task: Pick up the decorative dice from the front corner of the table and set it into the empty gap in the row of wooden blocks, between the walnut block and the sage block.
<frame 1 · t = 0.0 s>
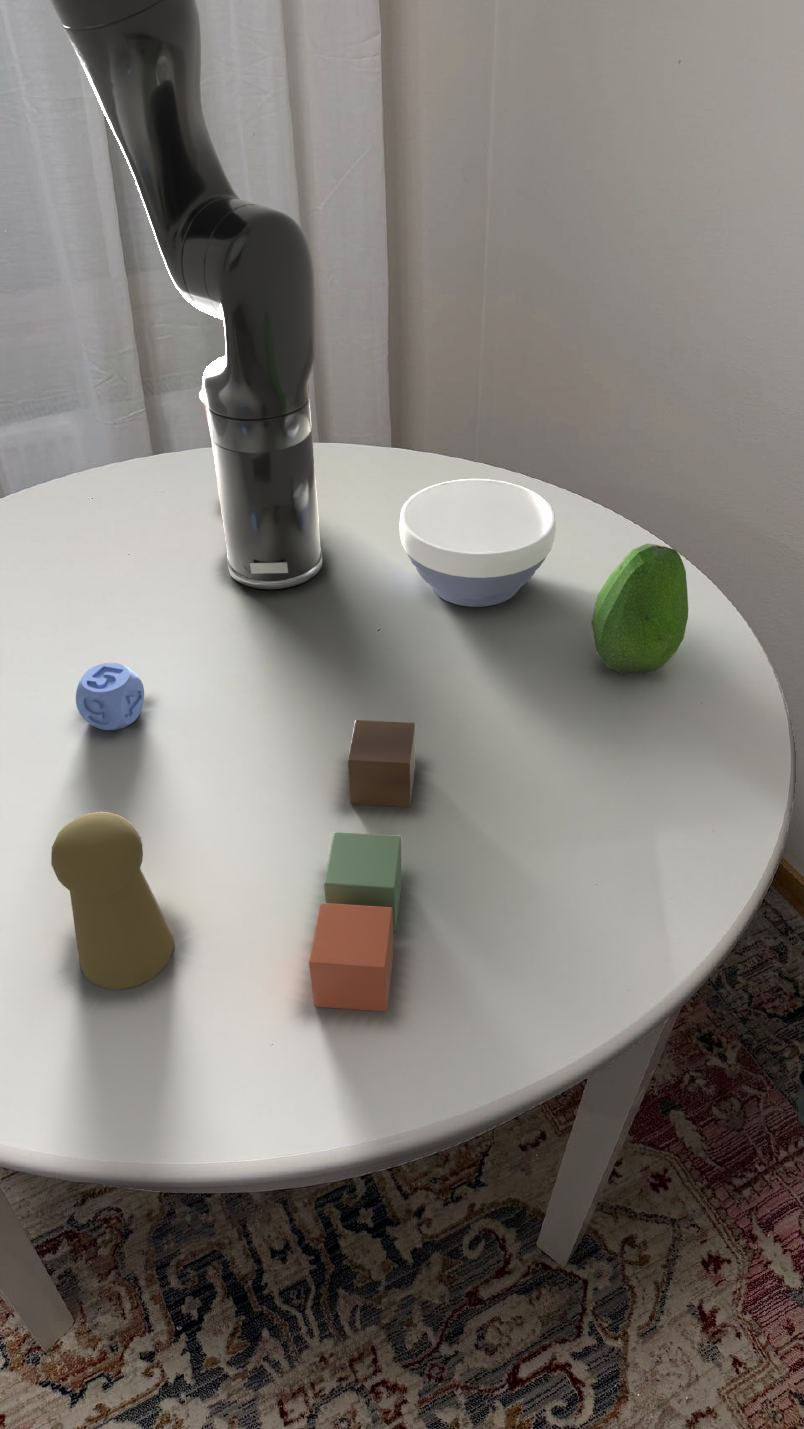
avocado: (630, 666, 88), on the table
bowl: (474, 585, 98), on the table
terracotta block: (354, 978, 63), on the table
walnut block: (383, 784, 77), on the table
paper cup: (251, 507, 110), on the table
tan ball-topped figurine: (127, 951, 65), on the table
sage block: (365, 903, 68), on the table
decorative dice: (115, 717, 83), on the table
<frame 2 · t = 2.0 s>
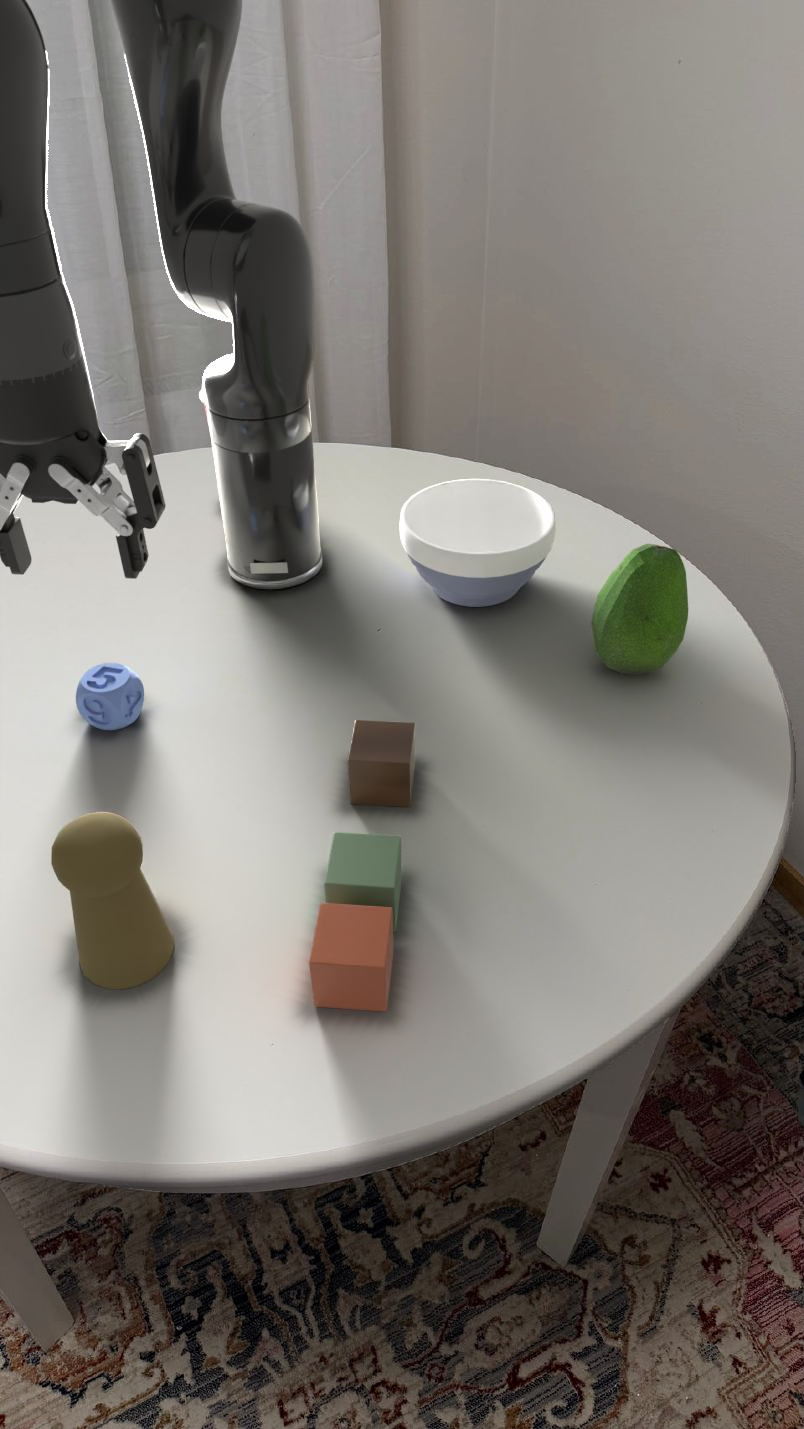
hand: (78, 571, 74), 14 cm above the table, tool pointing down, fingers open, 8 cm apart
nothing on the table moved.
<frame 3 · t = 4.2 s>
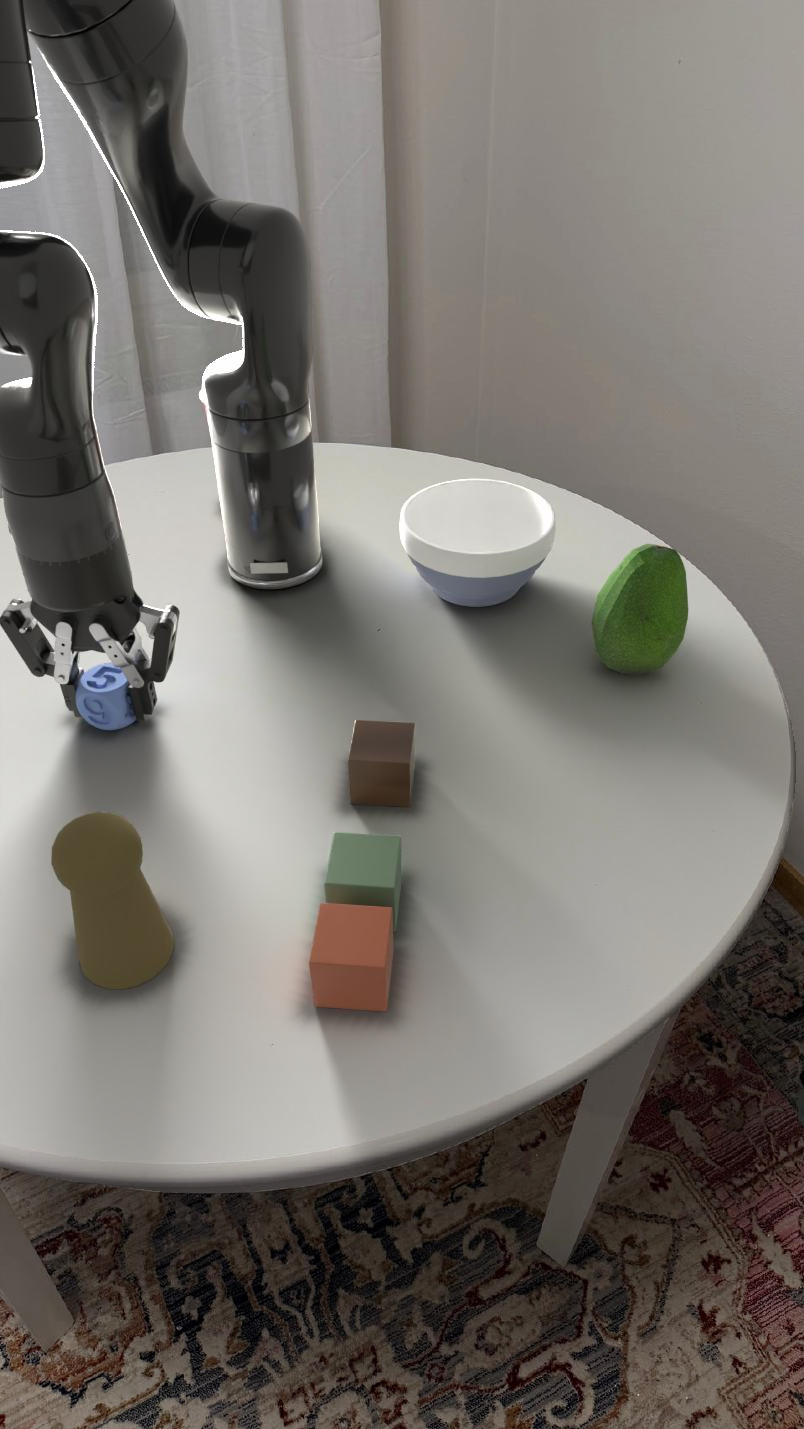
hand: (114, 712, 83), 0 cm above the table, tool pointing down, fingers closed on decorative dice, 4 cm apart
decorative dice: (115, 717, 83), on the table, touching gripper
everything else where it was.
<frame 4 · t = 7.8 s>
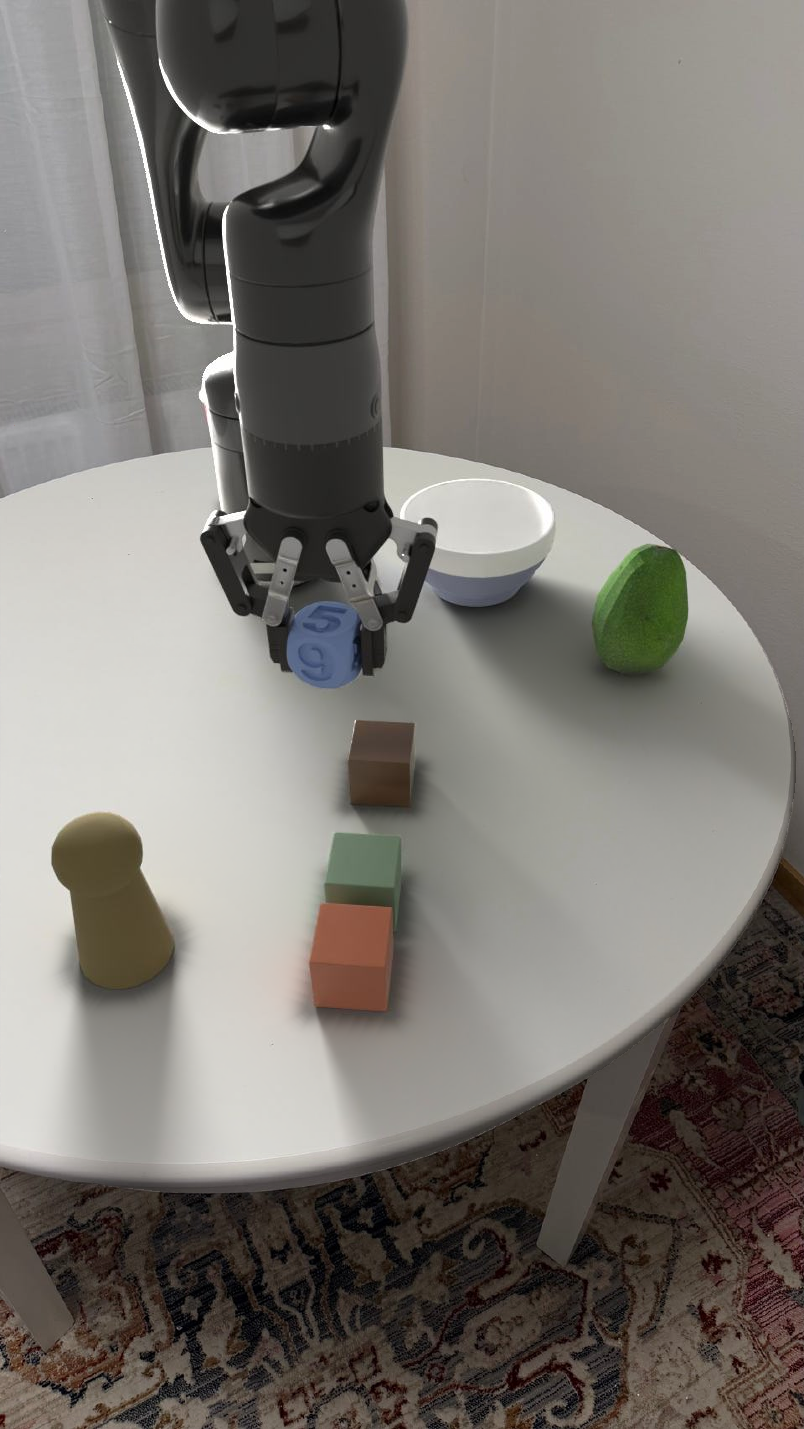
hand: (329, 665, 64), 15 cm above the table, tool pointing down, fingers closed on decorative dice, 4 cm apart
decorative dice: (329, 672, 64), point 14 cm above the table, touching gripper
everything else where it was.
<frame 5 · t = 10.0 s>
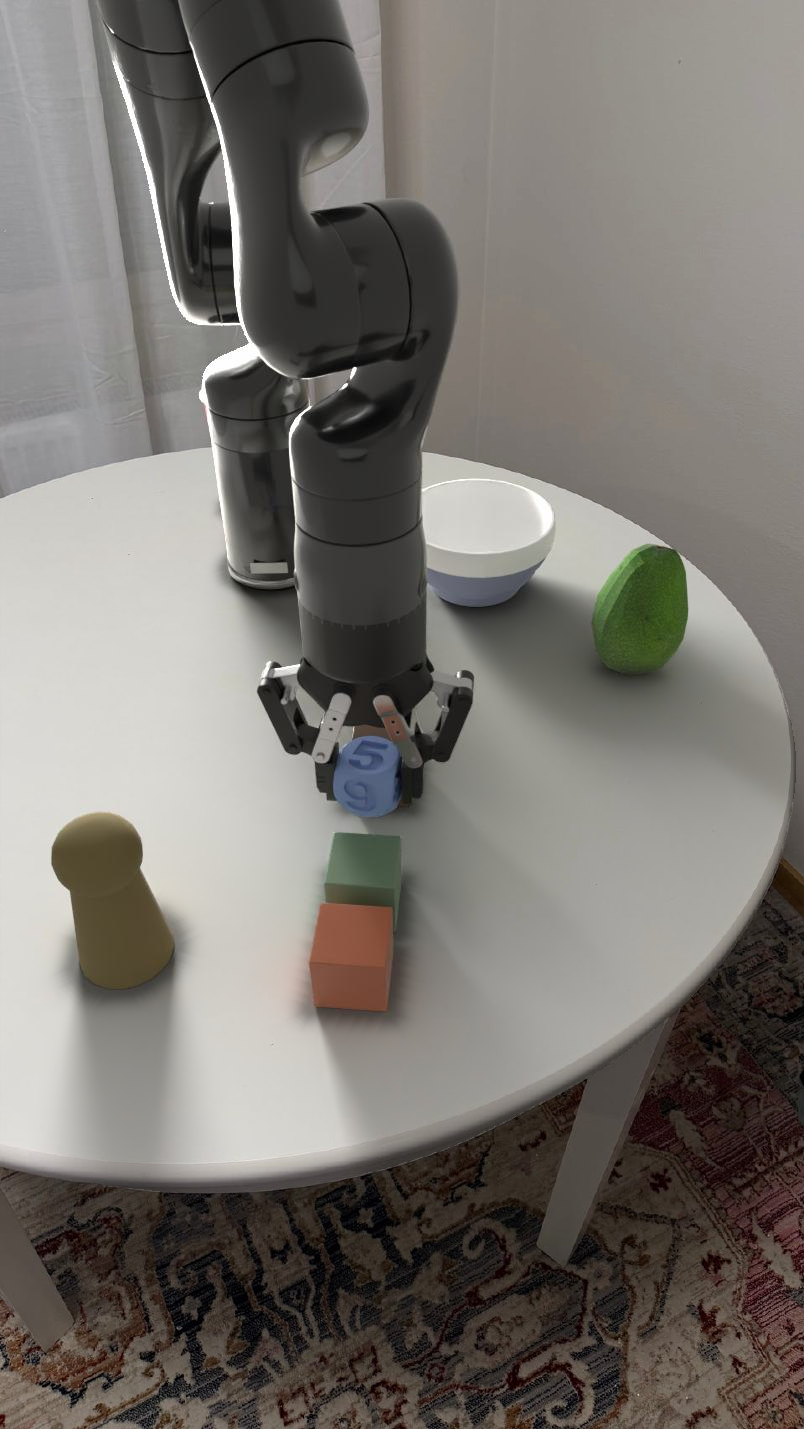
hand: (370, 793, 69), 5 cm above the table, tool pointing down, fingers closed on decorative dice, 4 cm apart
decorative dice: (371, 799, 69), point 4 cm above the table, touching gripper
everything else where it was.
when the fingers open (0 cm above the table, at t = 11.6 s): decorative dice stays where it is, on the table.
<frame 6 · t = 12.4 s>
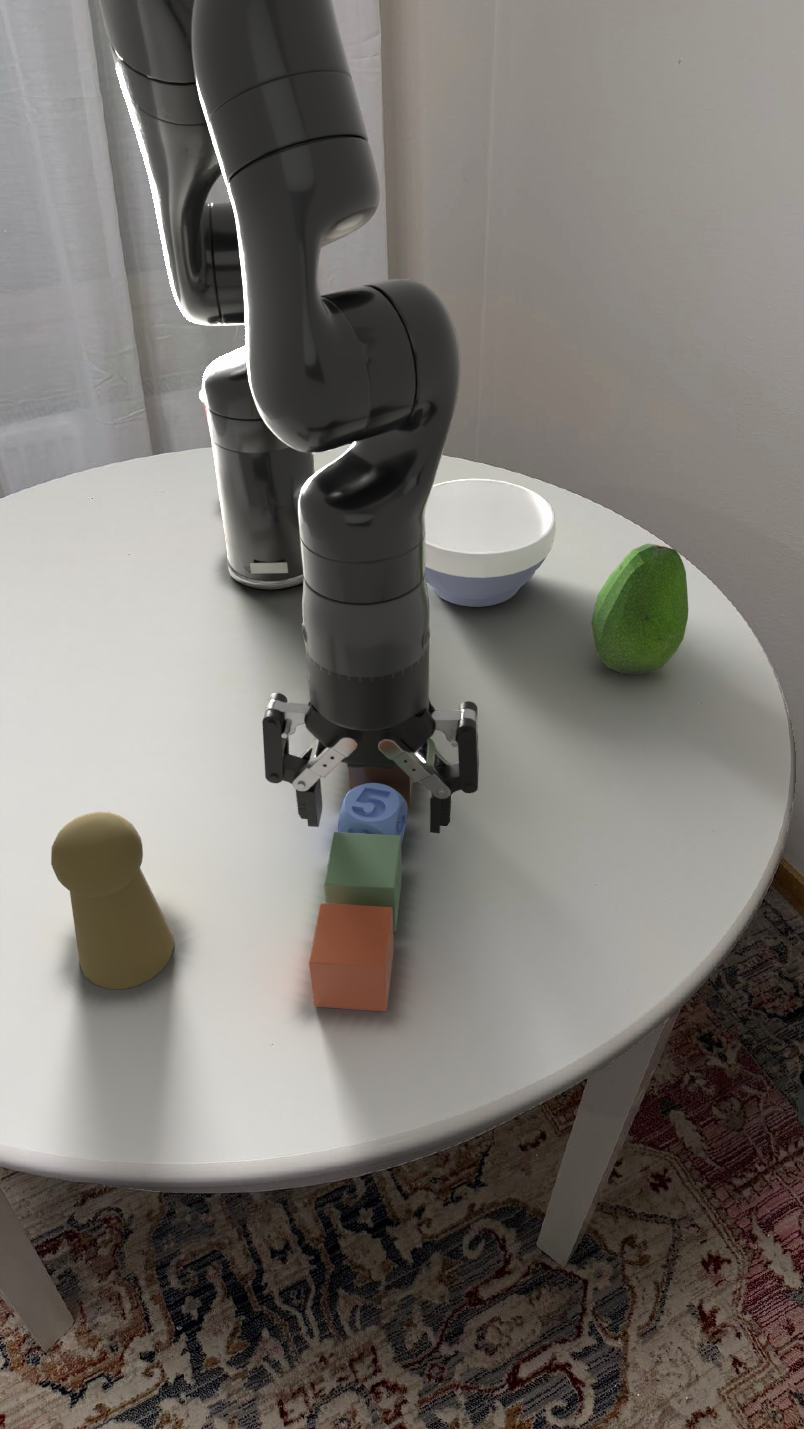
hand: (375, 821, 71), 2 cm above the table, tool pointing down, fingers open, 8 cm apart
decorative dice: (373, 843, 72), on the table
everything else where it was.
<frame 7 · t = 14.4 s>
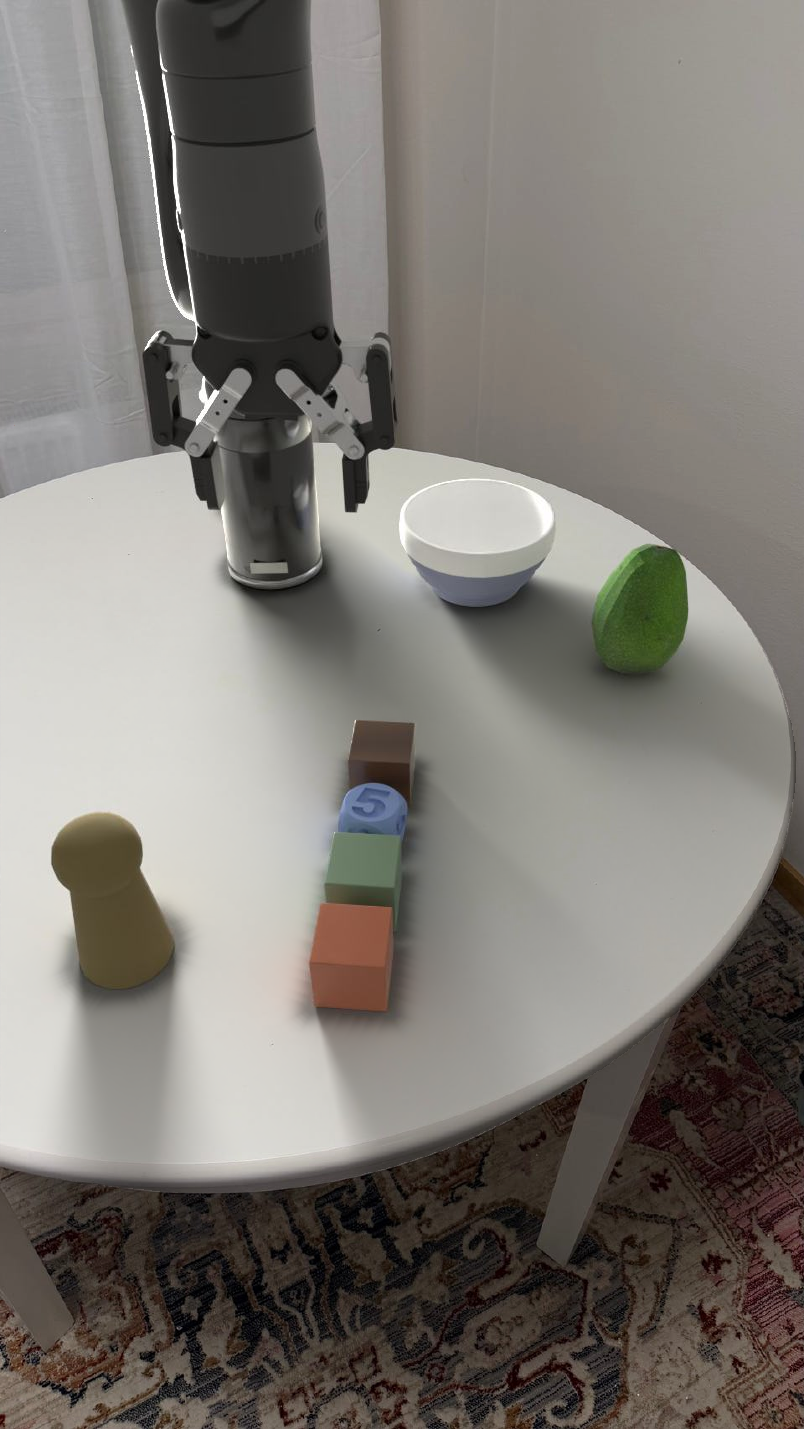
hand: (284, 505, 63), 23 cm above the table, tool pointing down, fingers open, 8 cm apart
nothing on the table moved.
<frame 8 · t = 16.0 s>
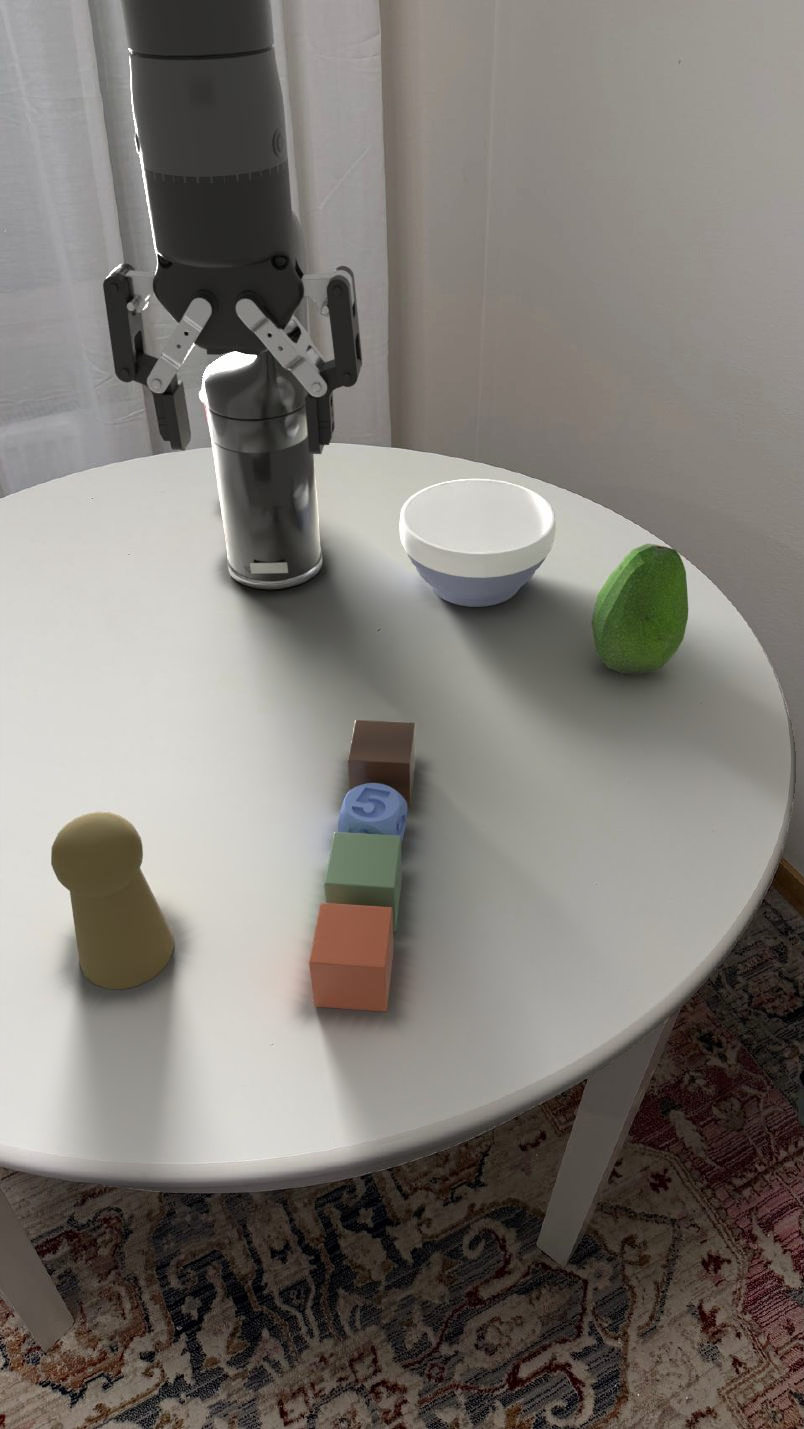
hand: (248, 447, 62), 26 cm above the table, tool pointing down, fingers open, 8 cm apart
nothing on the table moved.
at the end: decorative dice 0.1 cm from the target spot on the table beside the sage block, on the table; decorative dice tilted 0°; terracotta block moved 0.0 cm from its start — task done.
